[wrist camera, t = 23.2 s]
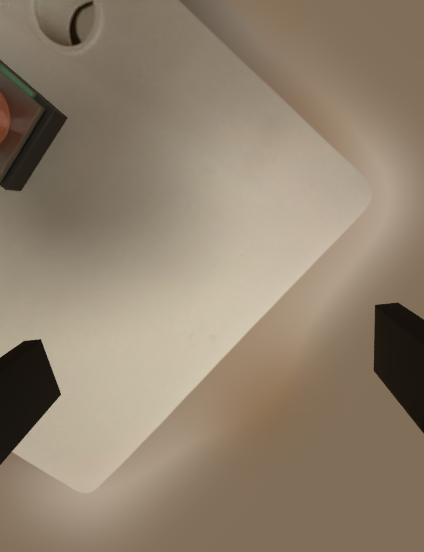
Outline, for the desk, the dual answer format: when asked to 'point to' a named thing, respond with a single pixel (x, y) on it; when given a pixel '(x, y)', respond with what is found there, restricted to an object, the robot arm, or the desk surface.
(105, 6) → the desk surface
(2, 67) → the scale base
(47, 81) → the desk surface
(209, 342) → the desk surface
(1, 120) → the cup
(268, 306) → the desk surface
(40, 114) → the pan
